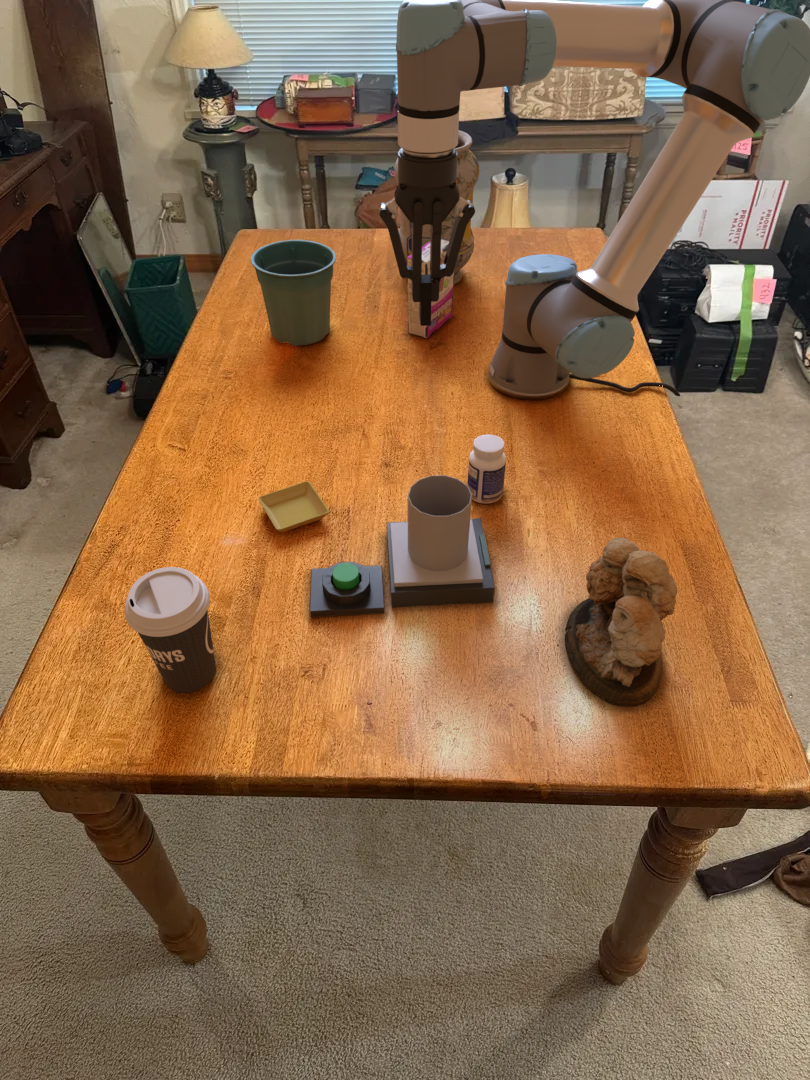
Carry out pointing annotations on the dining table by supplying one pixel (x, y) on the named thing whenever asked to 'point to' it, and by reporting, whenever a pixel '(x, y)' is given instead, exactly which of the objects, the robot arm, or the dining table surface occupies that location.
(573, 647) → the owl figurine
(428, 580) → the scale
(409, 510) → the cup
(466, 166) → the vase
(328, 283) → the flower pot
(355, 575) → the button
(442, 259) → the candy bar box
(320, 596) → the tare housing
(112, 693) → the dining table surface
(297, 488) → the olive yellow tray
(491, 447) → the pill bottle
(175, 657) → the coffee cup
